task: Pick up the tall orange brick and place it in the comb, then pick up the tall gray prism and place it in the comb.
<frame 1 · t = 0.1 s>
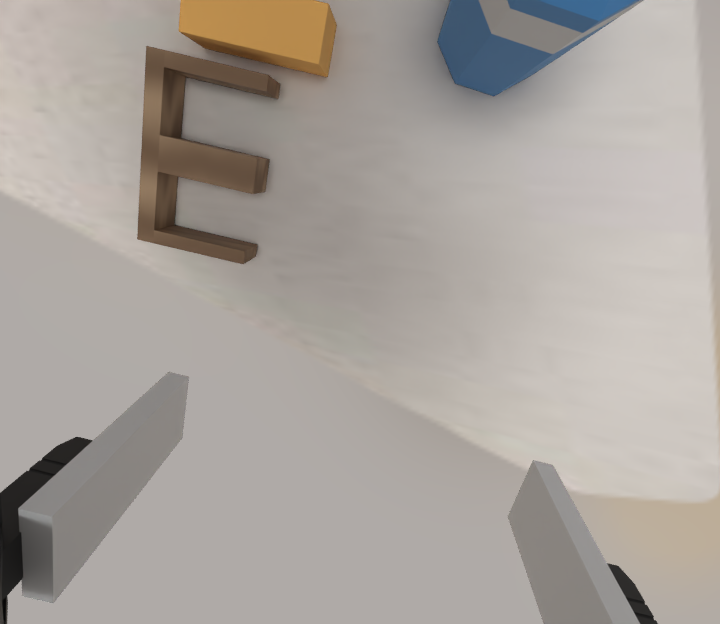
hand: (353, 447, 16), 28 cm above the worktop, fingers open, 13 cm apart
water bottle: (493, 34, 35), on the worktop
tall orange brick: (270, 37, 36), on the worktop
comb: (246, 170, 40), on the worktop
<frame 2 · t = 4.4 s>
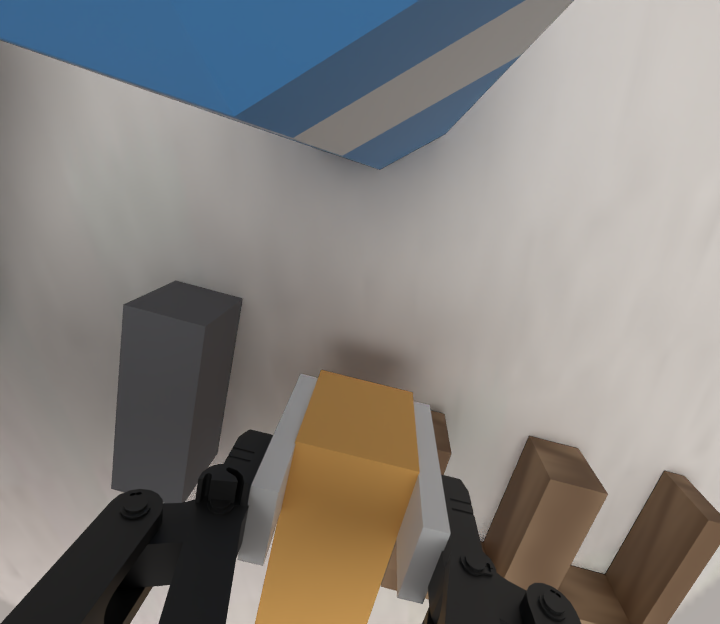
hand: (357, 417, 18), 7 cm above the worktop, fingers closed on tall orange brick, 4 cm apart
water bottle: (373, 67, 20), on the worktop
tall orange brick: (339, 483, 20), point 6 cm above the worktop, touching gripper
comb: (541, 469, 26), on the worktop
tall gray prism: (199, 371, 26), on the worktop
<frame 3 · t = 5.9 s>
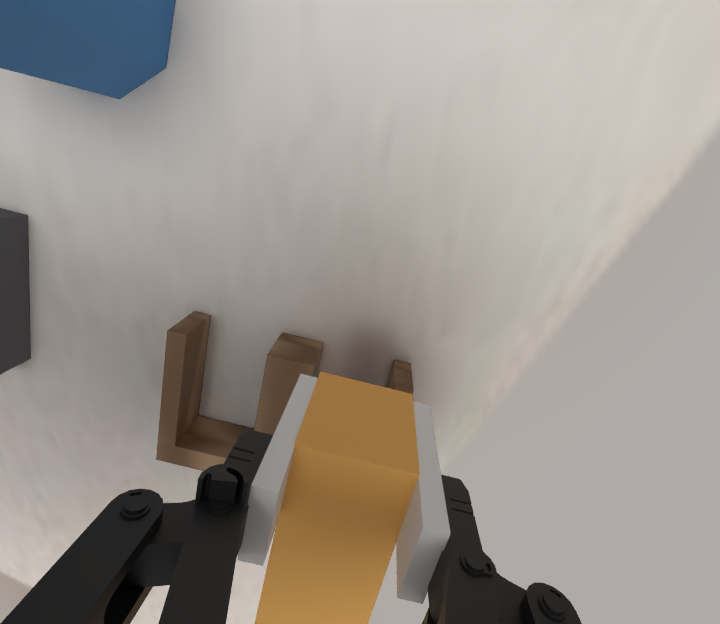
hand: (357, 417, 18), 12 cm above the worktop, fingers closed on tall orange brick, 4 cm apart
water bottle: (100, 10, 24), on the worktop
tall orange brick: (338, 484, 20), point 12 cm above the worktop, touching gripper
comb: (297, 362, 31), on the worktop
tall gray prism: (4, 283, 30), on the worktop
when the fingers open (0 cm above the worktop, at t = 7.9 s): tall orange brick stays where it is, on the worktop.
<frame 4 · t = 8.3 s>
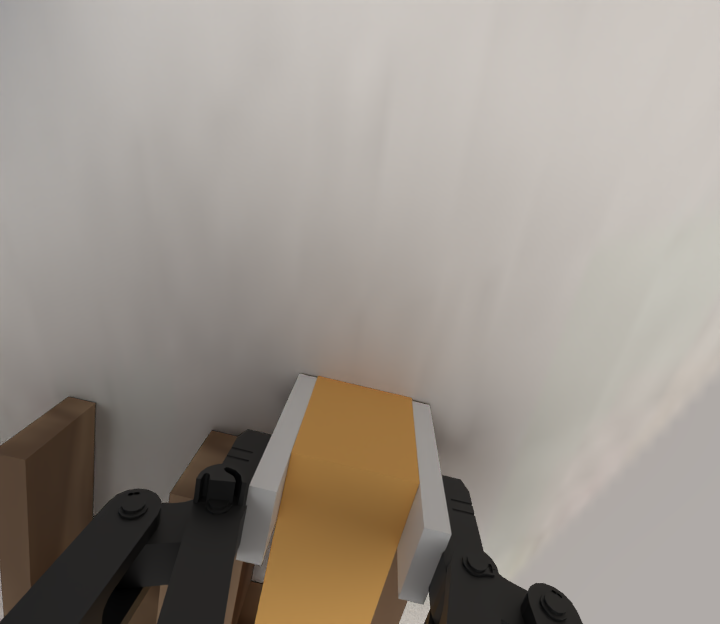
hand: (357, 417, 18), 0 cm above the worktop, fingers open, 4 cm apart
tall orange brick: (337, 489, 19), on the worktop
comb: (238, 473, 19), on the worktop
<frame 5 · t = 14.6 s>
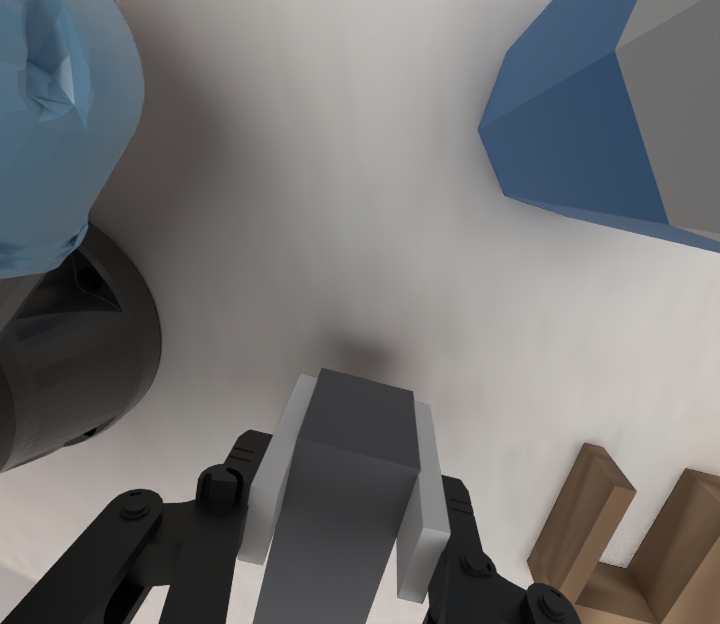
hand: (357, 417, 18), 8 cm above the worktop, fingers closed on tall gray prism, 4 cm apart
water bottle: (573, 120, 21), on the worktop
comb: (694, 499, 27), on the worktop
tall gray prism: (338, 482, 20), point 7 cm above the worktop, touching gripper
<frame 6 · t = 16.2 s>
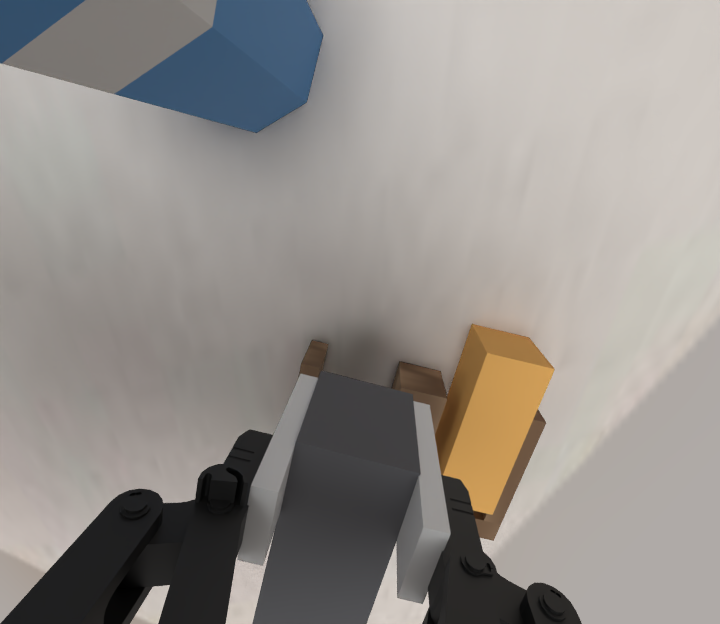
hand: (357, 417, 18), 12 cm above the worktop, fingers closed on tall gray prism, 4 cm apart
water bottle: (244, 46, 24), on the worktop
tall orange brick: (474, 398, 31), on the worktop
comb: (412, 390, 31), on the worktop
tall gray prism: (337, 484, 20), point 12 cm above the worktop, touching gripper
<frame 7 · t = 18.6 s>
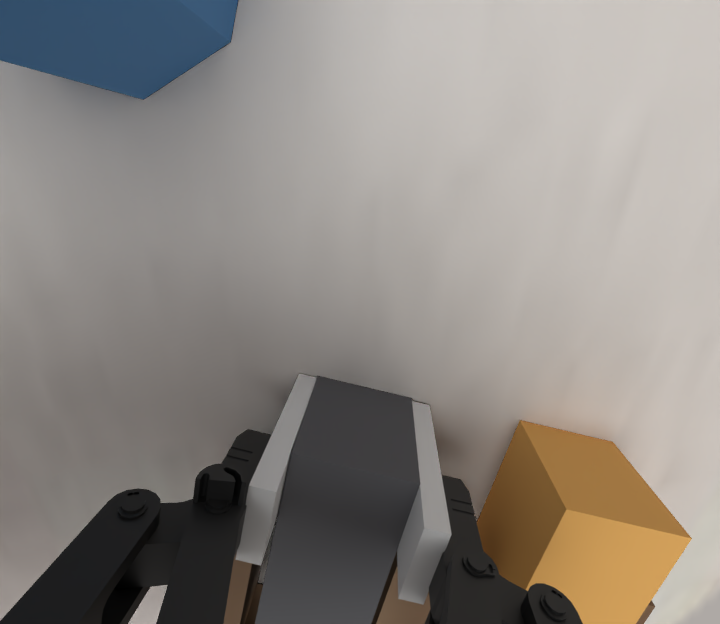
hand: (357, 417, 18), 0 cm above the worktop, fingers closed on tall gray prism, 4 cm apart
tall orange brick: (518, 526, 19), on the worktop
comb: (420, 516, 19), on the worktop
tall gray prism: (337, 490, 19), on the worktop, touching gripper
when the fingers open (0 cm above the worktop, at t = 19.1 s): tall gray prism stays where it is, on the worktop.
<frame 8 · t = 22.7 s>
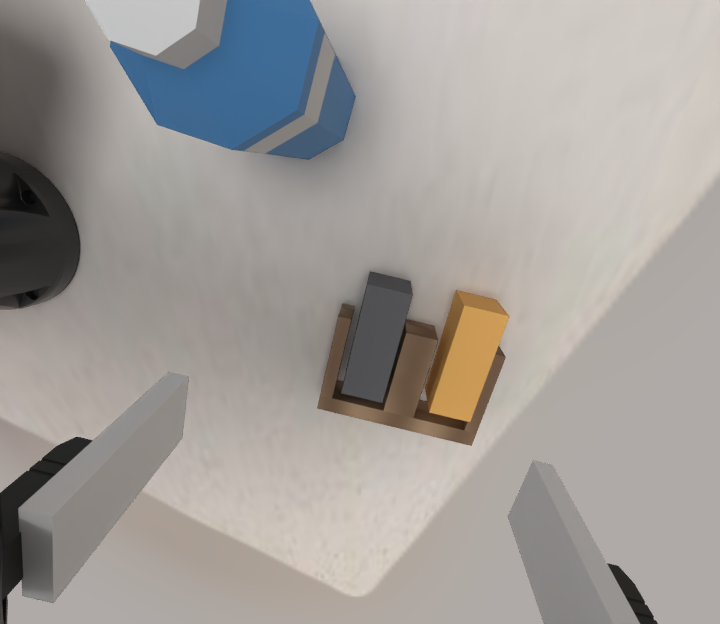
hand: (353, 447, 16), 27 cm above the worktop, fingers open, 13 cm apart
water bottle: (302, 102, 37), on the worktop
tall orange brick: (459, 344, 43), on the worktop
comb: (414, 340, 43), on the worktop
tall gray prism: (376, 326, 43), on the worktop
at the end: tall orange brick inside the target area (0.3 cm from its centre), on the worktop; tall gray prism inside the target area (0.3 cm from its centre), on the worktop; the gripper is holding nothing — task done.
